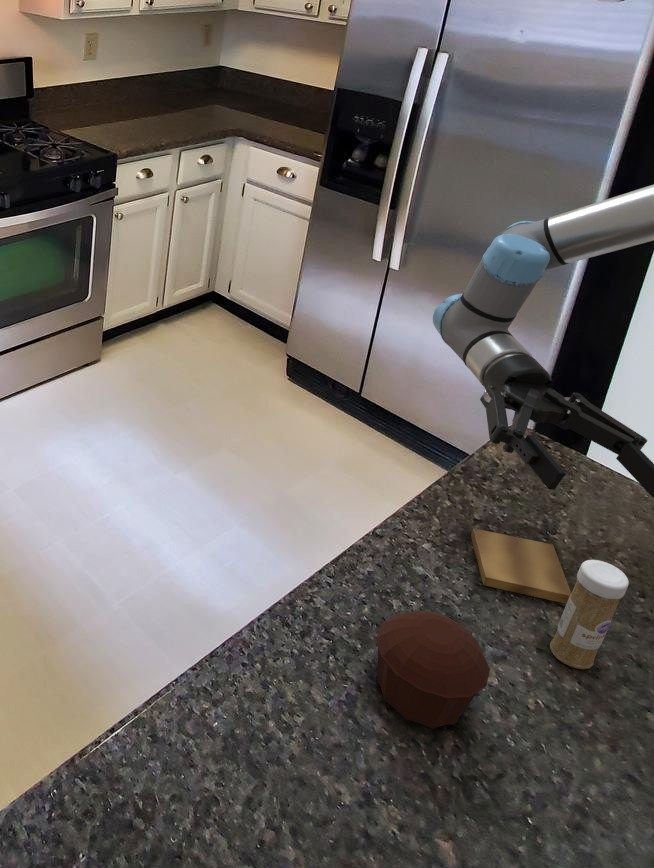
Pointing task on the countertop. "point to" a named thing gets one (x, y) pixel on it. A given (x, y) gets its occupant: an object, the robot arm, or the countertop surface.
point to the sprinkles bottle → (588, 613)
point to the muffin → (429, 667)
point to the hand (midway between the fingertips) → (610, 486)
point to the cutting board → (520, 566)
